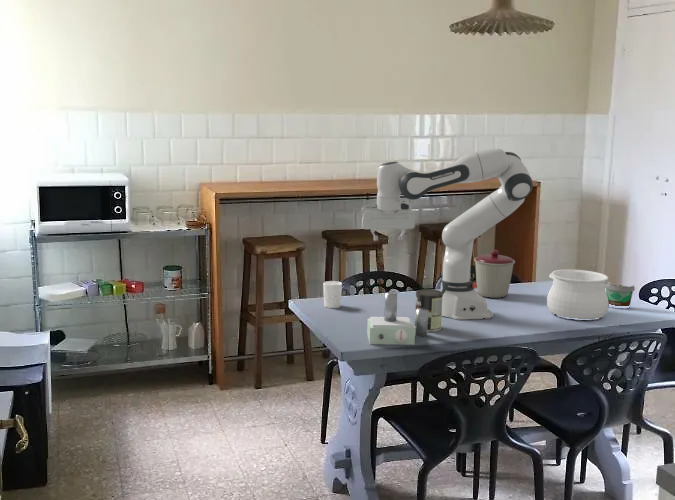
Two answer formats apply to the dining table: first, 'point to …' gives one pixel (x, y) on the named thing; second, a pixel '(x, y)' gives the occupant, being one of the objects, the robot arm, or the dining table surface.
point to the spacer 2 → (421, 322)
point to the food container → (619, 295)
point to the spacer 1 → (390, 307)
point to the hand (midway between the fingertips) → (388, 240)
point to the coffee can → (430, 307)
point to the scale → (391, 331)
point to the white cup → (332, 294)
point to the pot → (578, 294)
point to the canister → (493, 274)
